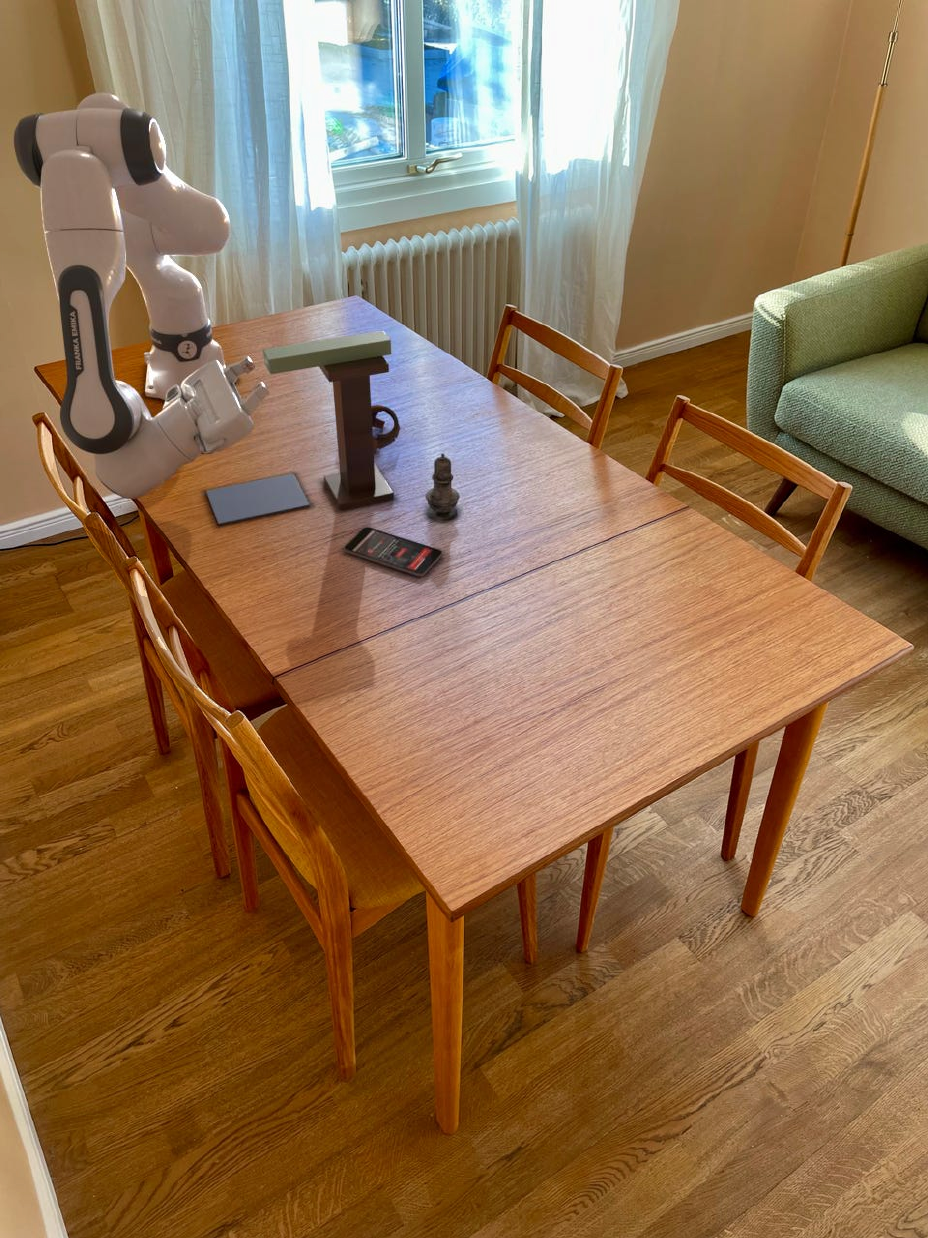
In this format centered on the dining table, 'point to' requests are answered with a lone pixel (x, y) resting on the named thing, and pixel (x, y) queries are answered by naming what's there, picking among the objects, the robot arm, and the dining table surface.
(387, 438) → the pottery mug
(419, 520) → the dining table surface
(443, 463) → the salt shaker
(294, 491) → the blue-grey flat rectangular plate
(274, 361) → the bar
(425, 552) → the smartphone
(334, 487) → the stand
